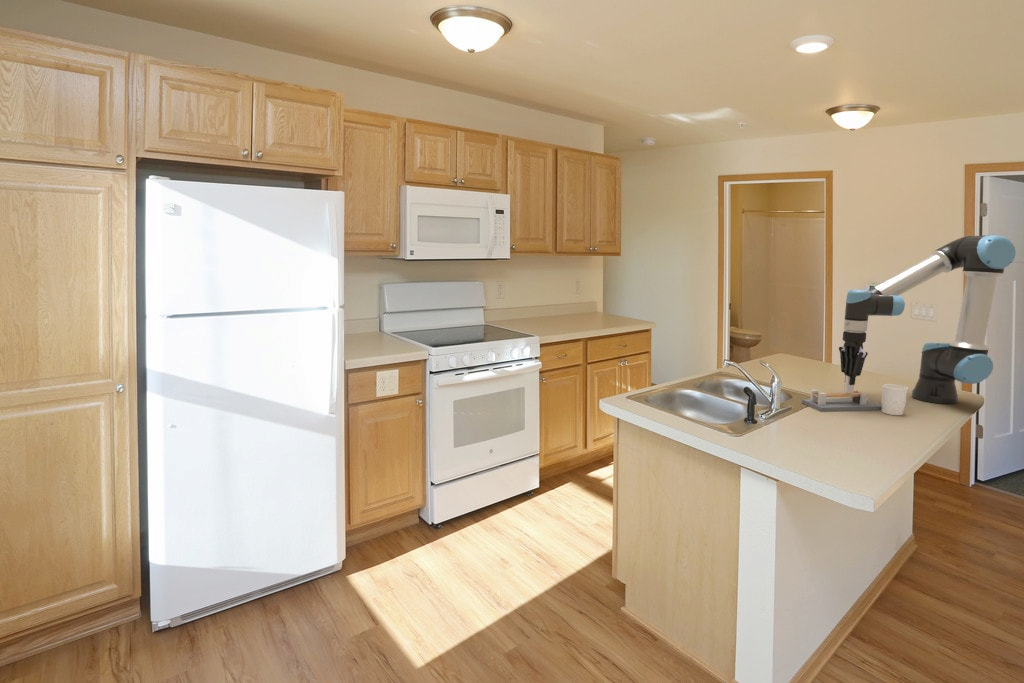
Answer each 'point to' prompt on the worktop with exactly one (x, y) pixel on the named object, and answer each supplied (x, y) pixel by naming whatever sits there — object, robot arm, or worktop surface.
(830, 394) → the strap
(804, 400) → the mount
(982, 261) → the robot arm
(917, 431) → the worktop surface
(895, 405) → the white cup
